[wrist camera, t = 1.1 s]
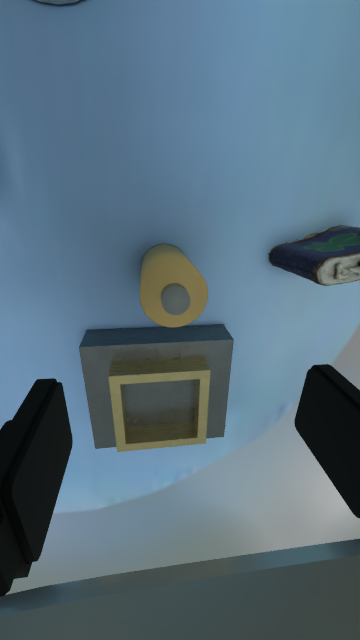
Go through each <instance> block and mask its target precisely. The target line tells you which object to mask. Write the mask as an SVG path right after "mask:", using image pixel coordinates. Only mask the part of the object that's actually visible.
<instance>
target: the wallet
mask: <svg viewBox="0 0 360 640" xmlns="http://www.w3.org/2000/svg"><path fill="white" fill-rule="evenodd" d="M269 259H270V263H271V264H272V265H273V266H276V267H279V268H282V269H284V270H286V271H289V272H292V273H295V274H297V275H299V276H302V277H303V278H306V279H309V280H311V281H313V282H315V283H317V284H320V285H324V286H327V285H334V284H342V283H348V282H354V281H358V280H360V228H358V227H348V226H338V227H331V228H329V230H327V231H325V232H321V233H315V234H311V235H308V236H307V237H306V238H304V239H303V240H300V241H299V240H296V241H294V242H293V243H287V242H286V243H285V244H281V245H278V246H275V247H274V248H273V249H272V250H271V252H270V253H269Z"/></svg>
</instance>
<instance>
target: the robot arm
mask: <svg viewBox="0 0 360 640" xmlns="http://www.w3.org/2000/svg"><path fill="white" fill-rule="evenodd" d="M37 1H40V2H45V3H52V4H66V3H74V2H77V1H80V0H37ZM295 427H296V429H297V431H298V432H299V434H300V436H301V437H302V438H303V440H304V441H305V443H306V444H307V446H308V447H309V449H310V450H311V452H312V453H313V455H314V456H315V458H316V459H317V461H318V462H319V464H320V465H321V467H322V468H323V470H324V471H325V473H326V474H327V475H328V477H329V479H330V480H331V481H332V483H333V484H334V486H335V487H336V489H337V490H338V492H339V493H340V495H341V496H342V498H343V499H344V501H345V502H346V504H347V505H348V507H349V508H350V510H351V511H352V512H353V514H354V515H355V516H356V517H358V518H360V390H359V389H357V388H356V387H355V386H354V385H353V384H352V383H350V382H349V381H348V380H347V379H346V378H345V377H344V376H342V375H341V374H340V373H339V372H338V371H337V370H336V369H334V368H333V367H332V366H331V365H328V364H325V365H314V366H312V367H311V369H309V370H308V372H307V375H306V379H305V383H304V387H303V390H302V394H301V398H300V402H299V406H298V410H297V413H296V417H295ZM71 449H72V434H71V428H70V423H69V417H68V412H67V407H66V401H65V396H64V391H63V386H62V383H61V382H57V381H56V379H38V380H36V381H35V383H34V385H33V386H32V388H31V390H30V391H29V393H28V395H27V396H26V398H25V399H24V401H23V403H22V404H21V406H20V408H19V409H18V411H17V413H16V414H15V416H14V418H13V419H12V420H9V421H7V422H6V423H5V424H4V425H3V427H2V428H1V430H0V640H360V539H354V540H348V541H340V542H333V543H325V544H318V545H312V546H304V547H297V548H290V549H283V550H276V551H269V552H262V553H255V554H248V555H241V556H235V557H228V558H221V559H214V560H207V561H201V562H194V563H187V564H181V565H174V566H167V567H160V568H154V569H147V570H140V571H134V572H127V573H120V574H114V575H108V576H102V577H96V578H90V579H84V580H79V581H72V582H67V583H61V584H55V585H49V586H44V587H39V588H35V589H30V590H26V591H21V592H17V593H13V594H8V595H5V594H6V593H7V592H9V591H10V588H11V585H12V583H13V579H16V578H23V577H28V574H29V571H30V567H31V564H32V562H34V561H38V559H39V557H40V555H41V552H42V548H43V544H44V541H45V538H46V534H47V531H48V528H49V524H50V521H51V517H52V514H53V511H54V507H55V504H56V500H57V497H58V493H59V490H60V487H61V483H62V480H63V476H64V473H65V469H66V466H67V463H68V459H69V456H70V452H71Z"/></svg>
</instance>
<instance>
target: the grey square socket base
mask: <svg viewBox="0 0 360 640" xmlns="http://www.w3.org/2000/svg"><path fill="white" fill-rule="evenodd" d="M233 340H234V339H233V338H232V336H231V335H230V334H229V332H228V331H227V329H226V328H225V326H224V325H223V324H220V325H197V326H181V327H150V328H127V329H104V330H87V331H86V333H85V335H84V338H83V340H82V342H81V344H80V346H79V350H80V357H81V363H82V369H83V375H84V381H85V388H86V394H87V400H88V406H89V412H90V419H91V425H92V431H93V437H94V443H95V449H98V448H109V447H117V452H121V451H131V450H142V449H152V448H163V447H173V446H183V445H194V444H204V443H206V438H215V437H224V430H225V420H226V410H227V400H228V390H229V380H230V370H231V360H232V350H233Z"/></svg>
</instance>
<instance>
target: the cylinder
mask: <svg viewBox="0 0 360 640" xmlns="http://www.w3.org/2000/svg"><path fill="white" fill-rule="evenodd" d="M207 299H208V289H207V285H206V282H205V280H204V278H203V276H202V275H201V274H200V272H199V271H198V270H197V269H196V268H195V267H194V265H193V264H192V263H191V262H190V261H189V259H188V258H187V257H186V256H185V255H184V253H183V252H182V251H181V250H180V249H179V248H177V247H176V246H174V245H171V244H159V245H156V246H154V247H152V248H151V249H149V250H148V251H147V253H146V254H145V255H144V257H143V260H142V265H141V284H140V302H141V306H142V308H143V310H144V312H145V314H146V315H147V316H148V317H149V318H150V319H151V320H152V321H154V322H155V323H157V324H159V325H161V326H165V327H181V326H184V325H187V324H189V323H191V322H193V321H194V320H195V319H196V318H198V317H199V315H200V314H201V313H202V312H203V310H204V308H205V306H206V303H207Z"/></svg>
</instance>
